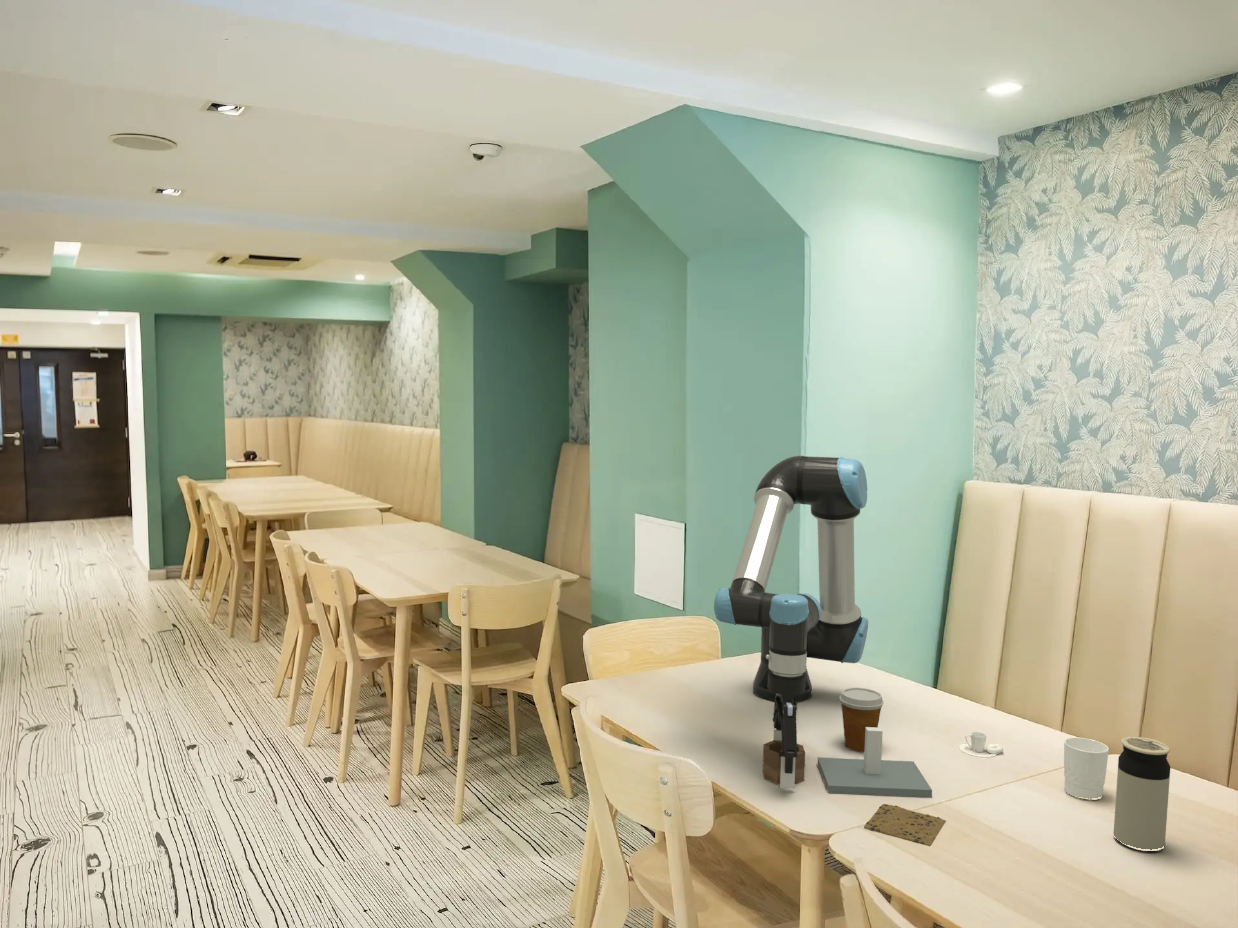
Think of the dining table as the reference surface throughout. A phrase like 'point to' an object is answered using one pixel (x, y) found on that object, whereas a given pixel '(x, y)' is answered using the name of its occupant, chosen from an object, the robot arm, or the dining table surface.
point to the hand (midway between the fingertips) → (783, 773)
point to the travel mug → (1142, 793)
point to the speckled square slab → (905, 824)
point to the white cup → (1085, 767)
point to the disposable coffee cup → (859, 715)
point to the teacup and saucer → (980, 745)
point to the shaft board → (873, 773)
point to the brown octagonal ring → (774, 762)
